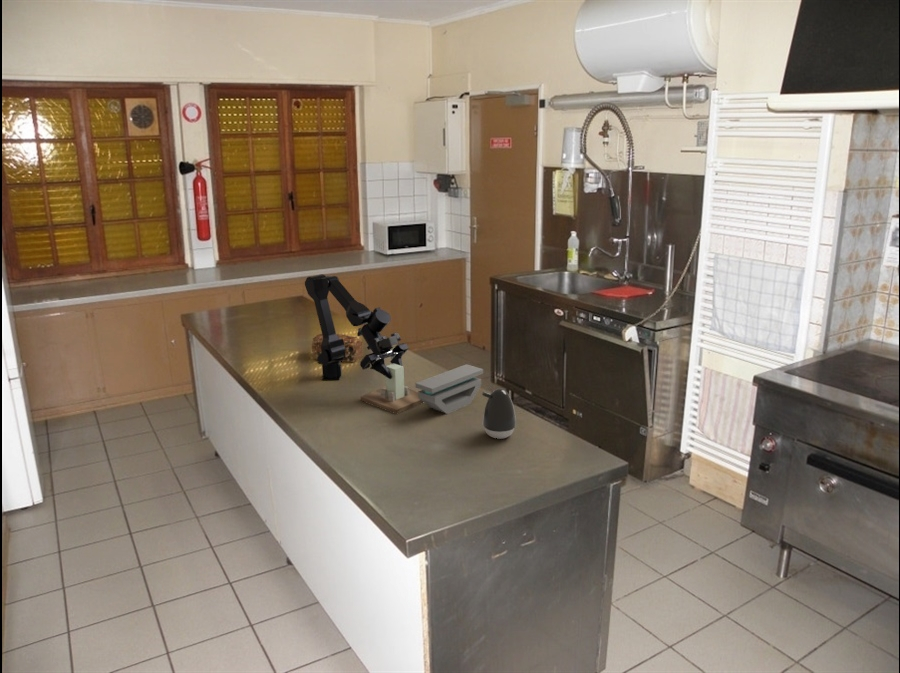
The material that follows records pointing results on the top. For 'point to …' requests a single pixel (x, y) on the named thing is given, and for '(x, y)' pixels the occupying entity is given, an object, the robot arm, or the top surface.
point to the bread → (350, 343)
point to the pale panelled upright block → (395, 380)
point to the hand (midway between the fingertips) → (397, 376)
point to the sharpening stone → (450, 388)
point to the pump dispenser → (499, 414)
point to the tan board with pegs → (393, 400)
